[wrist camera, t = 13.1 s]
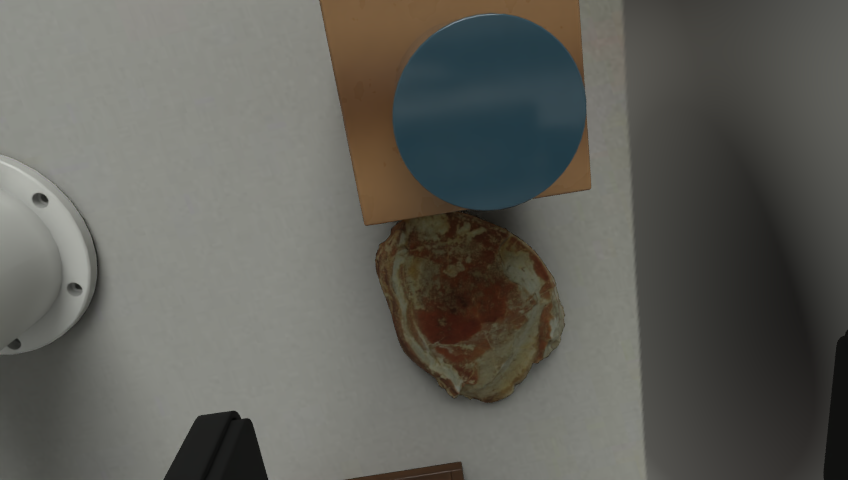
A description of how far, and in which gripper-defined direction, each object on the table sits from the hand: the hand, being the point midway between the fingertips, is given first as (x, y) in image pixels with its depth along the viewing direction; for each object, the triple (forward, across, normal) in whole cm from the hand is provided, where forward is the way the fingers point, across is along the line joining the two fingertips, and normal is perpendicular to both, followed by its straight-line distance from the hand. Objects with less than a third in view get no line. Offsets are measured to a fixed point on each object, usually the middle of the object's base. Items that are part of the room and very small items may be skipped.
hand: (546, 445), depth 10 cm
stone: (+27, -1, +10) cm, 29 cm away
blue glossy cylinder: (+15, 0, -4) cm, 15 cm away
